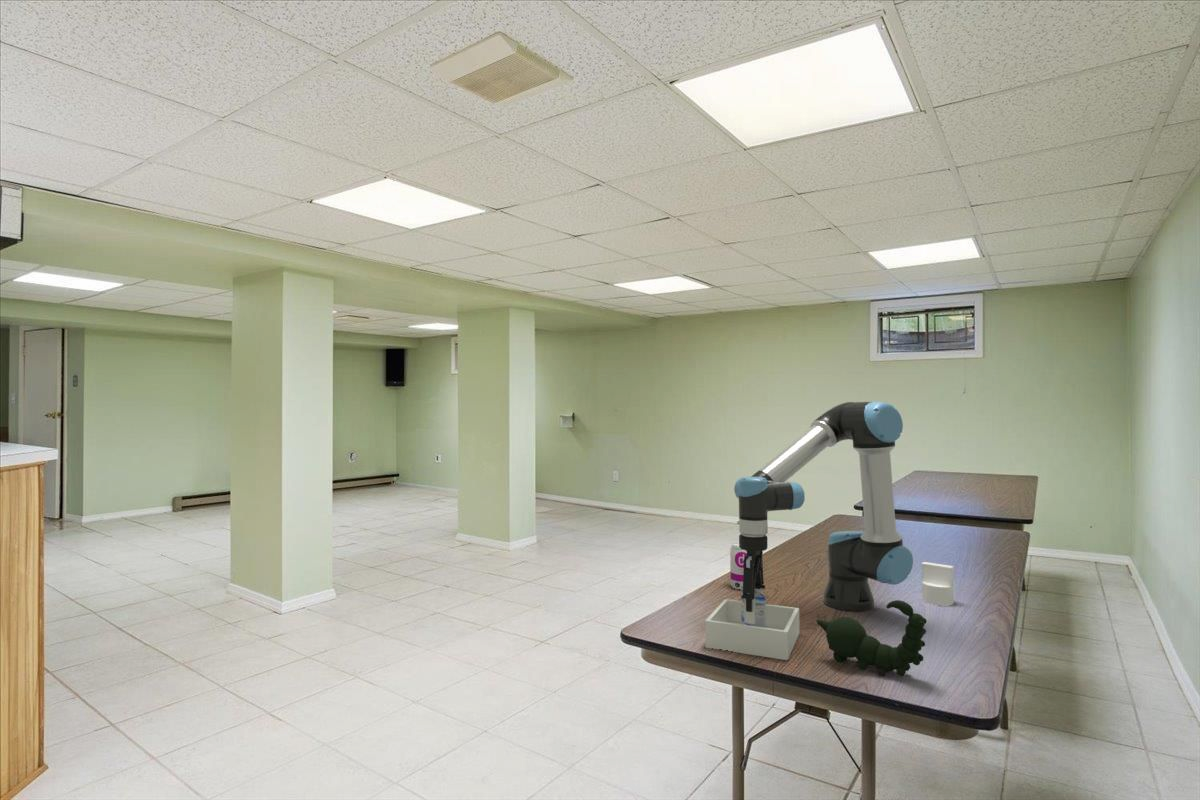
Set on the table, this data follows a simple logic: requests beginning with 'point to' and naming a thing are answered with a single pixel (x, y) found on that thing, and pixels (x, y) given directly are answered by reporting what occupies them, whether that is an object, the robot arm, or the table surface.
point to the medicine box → (756, 610)
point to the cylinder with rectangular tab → (937, 584)
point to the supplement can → (737, 565)
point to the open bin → (753, 631)
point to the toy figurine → (876, 642)
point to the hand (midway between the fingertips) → (753, 617)
